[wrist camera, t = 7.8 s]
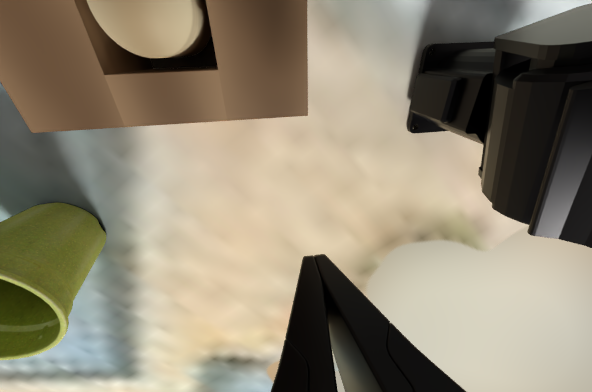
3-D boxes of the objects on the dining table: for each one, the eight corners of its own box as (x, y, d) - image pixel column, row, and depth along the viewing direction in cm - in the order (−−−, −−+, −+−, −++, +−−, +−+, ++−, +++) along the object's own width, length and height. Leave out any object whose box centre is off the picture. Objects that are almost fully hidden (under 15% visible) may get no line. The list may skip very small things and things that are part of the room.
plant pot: (14, 161, 18) (-156, 236, 11) (143, 216, 22) (83, 299, 14) (-8, 241, 21) (-152, 342, 14) (108, 277, 25) (44, 370, 18)
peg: (203, -28, 13) (176, -68, 9) (217, 56, 15) (201, 56, 11) (126, -28, 13) (60, -69, 8) (152, 58, 15) (109, 59, 11)
